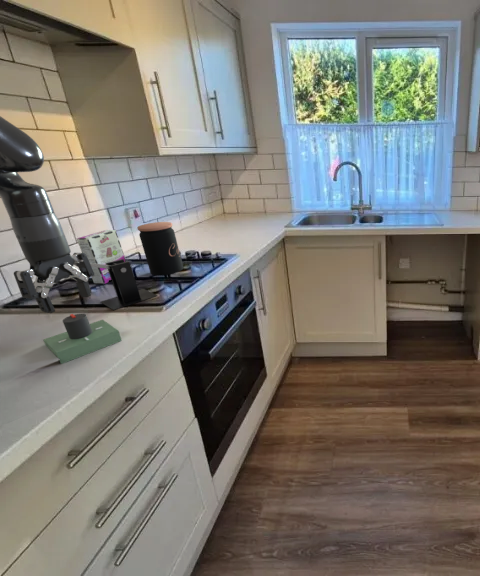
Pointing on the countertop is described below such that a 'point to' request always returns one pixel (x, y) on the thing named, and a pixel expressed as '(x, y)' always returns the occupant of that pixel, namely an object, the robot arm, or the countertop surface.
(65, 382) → the countertop surface
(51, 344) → the panel
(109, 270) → the bracket
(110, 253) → the candy bar box
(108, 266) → the press lever
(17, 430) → the countertop surface
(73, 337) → the knob
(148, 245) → the coffee jar
